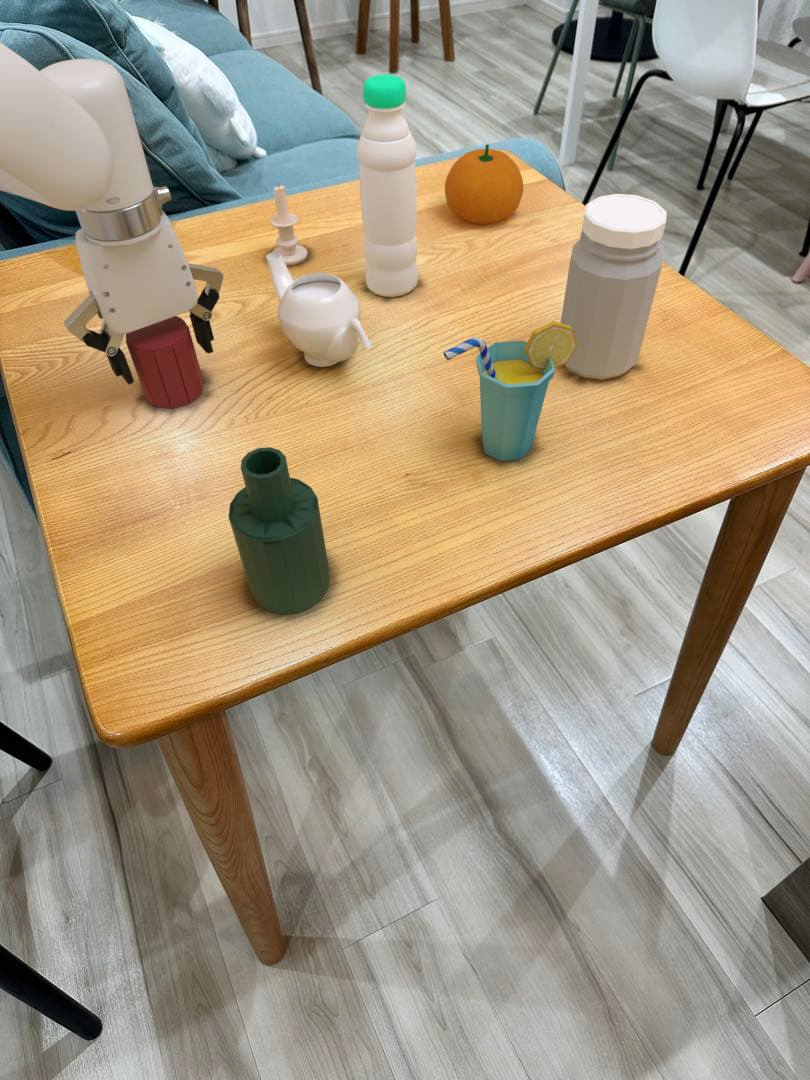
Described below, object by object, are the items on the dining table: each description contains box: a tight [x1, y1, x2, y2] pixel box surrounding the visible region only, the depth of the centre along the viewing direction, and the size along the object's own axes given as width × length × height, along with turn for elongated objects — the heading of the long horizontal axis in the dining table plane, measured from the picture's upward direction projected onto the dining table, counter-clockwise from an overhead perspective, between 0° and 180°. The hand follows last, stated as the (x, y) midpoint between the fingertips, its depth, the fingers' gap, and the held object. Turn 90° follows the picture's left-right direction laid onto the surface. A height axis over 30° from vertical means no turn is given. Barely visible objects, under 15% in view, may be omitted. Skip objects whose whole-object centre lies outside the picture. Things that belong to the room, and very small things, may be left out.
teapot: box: [265, 251, 373, 368], centre depth 87 cm, size 10×20×9 cm, turn 38°
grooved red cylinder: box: [125, 315, 205, 410], centre depth 84 cm, size 7×7×8 cm
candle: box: [269, 182, 309, 266], centre depth 103 cm, size 5×5×10 cm
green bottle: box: [228, 446, 331, 615], centre depth 62 cm, size 7×7×15 cm
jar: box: [560, 193, 667, 381], centre depth 82 cm, size 10×10×18 cm
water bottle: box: [356, 73, 419, 298], centre depth 92 cm, size 7×7×25 cm
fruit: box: [444, 144, 524, 225], centre depth 110 cm, size 12×12×10 cm
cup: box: [443, 320, 578, 462], centre depth 74 cm, size 14×8×15 cm, turn 118°
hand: (166, 362), depth 84 cm, fingers open, 9 cm apart
